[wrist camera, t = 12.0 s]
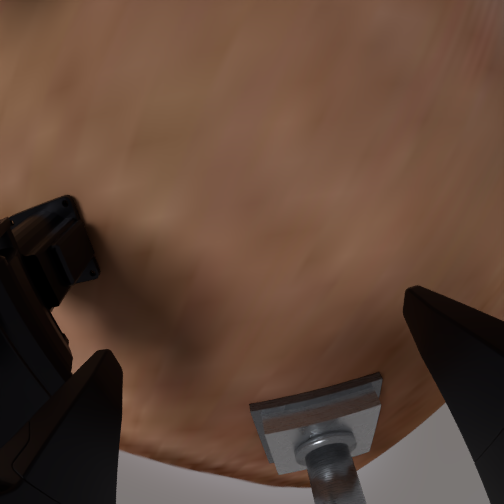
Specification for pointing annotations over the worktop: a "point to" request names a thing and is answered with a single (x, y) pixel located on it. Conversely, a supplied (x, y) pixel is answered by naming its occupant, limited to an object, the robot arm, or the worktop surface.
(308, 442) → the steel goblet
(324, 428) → the metal stand
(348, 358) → the worktop surface
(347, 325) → the worktop surface
